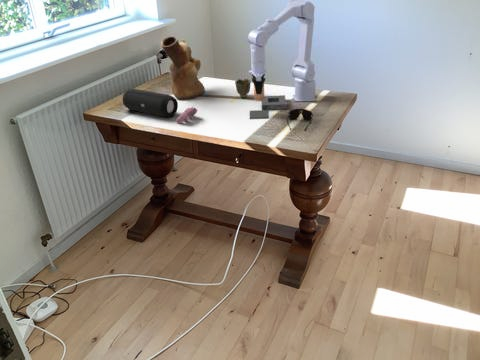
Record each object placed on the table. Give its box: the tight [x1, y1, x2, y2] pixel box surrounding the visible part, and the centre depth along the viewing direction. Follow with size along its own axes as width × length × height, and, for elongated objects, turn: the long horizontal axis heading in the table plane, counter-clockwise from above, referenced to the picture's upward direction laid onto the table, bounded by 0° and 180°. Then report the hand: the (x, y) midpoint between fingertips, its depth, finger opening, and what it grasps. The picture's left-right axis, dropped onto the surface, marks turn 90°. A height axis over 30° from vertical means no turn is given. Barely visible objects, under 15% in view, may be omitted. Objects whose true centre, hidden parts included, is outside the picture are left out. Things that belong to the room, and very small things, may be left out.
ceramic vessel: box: [160, 36, 206, 100], centre depth 210 cm, size 16×22×30 cm
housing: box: [260, 94, 287, 111], centre depth 202 cm, size 11×11×2 cm
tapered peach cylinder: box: [253, 83, 265, 102], centre depth 188 cm, size 4×4×9 cm
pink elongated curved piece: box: [175, 106, 198, 124], centre depth 191 cm, size 10×5×7 cm, turn 148°
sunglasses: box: [286, 108, 314, 132], centre depth 183 cm, size 10×12×5 cm
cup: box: [234, 78, 252, 99], centre depth 211 cm, size 8×7×8 cm
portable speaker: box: [122, 88, 179, 118], centre depth 200 cm, size 26×10×10 cm, turn 60°
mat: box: [249, 109, 269, 120], centre depth 194 cm, size 8×8×1 cm
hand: (258, 91), depth 189 cm, fingers closed on tapered peach cylinder, 4 cm apart
